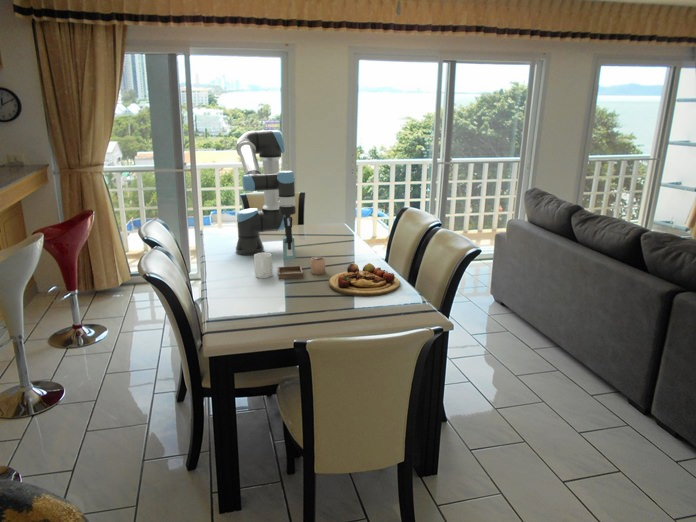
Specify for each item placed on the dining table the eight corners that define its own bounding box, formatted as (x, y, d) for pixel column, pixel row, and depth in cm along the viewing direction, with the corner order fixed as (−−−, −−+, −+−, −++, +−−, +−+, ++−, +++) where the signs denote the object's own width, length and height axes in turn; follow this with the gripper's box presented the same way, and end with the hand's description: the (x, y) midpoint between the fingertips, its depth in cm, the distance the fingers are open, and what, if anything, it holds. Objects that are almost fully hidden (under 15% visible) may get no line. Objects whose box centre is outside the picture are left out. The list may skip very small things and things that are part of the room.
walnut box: (277, 271, 256) (277, 267, 255) (301, 270, 258) (301, 265, 257) (278, 279, 245) (278, 274, 245) (303, 277, 247) (303, 272, 246)
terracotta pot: (310, 270, 258) (309, 256, 256) (324, 269, 259) (324, 255, 257) (311, 274, 251) (311, 260, 249) (326, 274, 252) (325, 259, 250)
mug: (272, 280, 244) (271, 259, 241) (254, 281, 243) (252, 260, 240) (273, 272, 255) (271, 252, 252) (255, 273, 254) (254, 252, 251)
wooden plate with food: (348, 302, 217) (348, 283, 215) (317, 279, 244) (317, 262, 242) (413, 291, 231) (414, 273, 229) (377, 271, 258) (378, 254, 256)
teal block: (294, 255, 252) (293, 235, 249) (295, 258, 247) (294, 238, 244) (283, 256, 251) (282, 236, 248) (284, 259, 246) (283, 238, 243)
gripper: (278, 202, 250) (280, 249, 256) (279, 209, 233) (282, 259, 239) (294, 201, 251) (296, 248, 257) (296, 208, 234) (298, 259, 240)
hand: (289, 254), depth 248 cm, fingers closed on teal block, 5 cm apart
